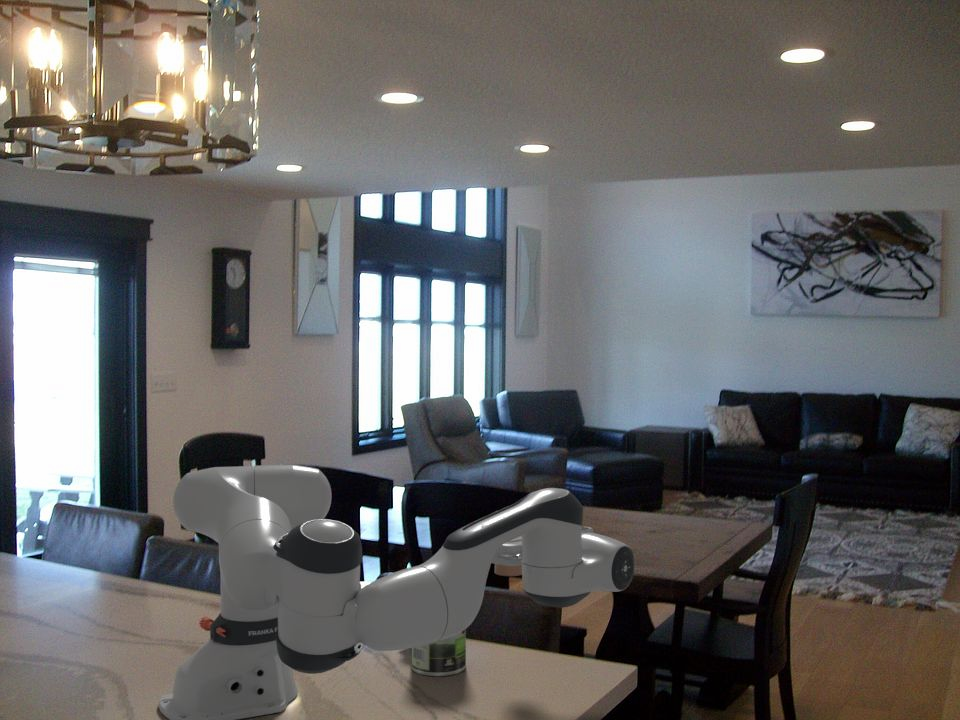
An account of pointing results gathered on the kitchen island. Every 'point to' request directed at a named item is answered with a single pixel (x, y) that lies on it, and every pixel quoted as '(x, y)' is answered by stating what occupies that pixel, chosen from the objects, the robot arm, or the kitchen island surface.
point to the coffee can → (440, 657)
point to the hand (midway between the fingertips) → (506, 538)
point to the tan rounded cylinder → (508, 570)
